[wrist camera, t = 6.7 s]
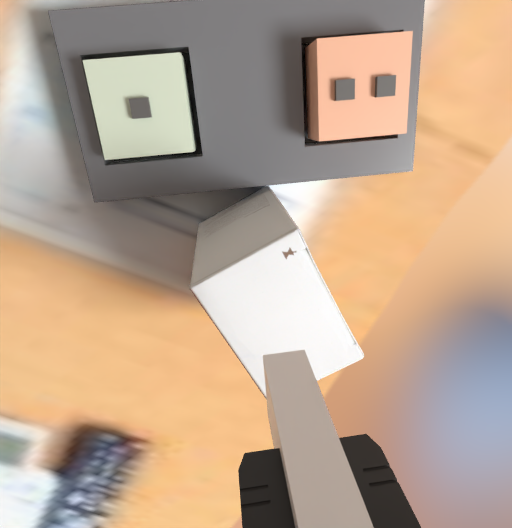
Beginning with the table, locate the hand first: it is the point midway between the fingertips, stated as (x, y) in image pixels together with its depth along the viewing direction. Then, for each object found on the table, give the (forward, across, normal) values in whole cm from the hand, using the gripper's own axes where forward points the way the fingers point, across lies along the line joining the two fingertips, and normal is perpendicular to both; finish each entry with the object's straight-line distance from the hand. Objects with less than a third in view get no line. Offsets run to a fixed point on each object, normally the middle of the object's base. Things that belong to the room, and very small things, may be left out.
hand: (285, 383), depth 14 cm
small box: (+15, +1, 0) cm, 15 cm away
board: (+15, +1, +10) cm, 18 cm away
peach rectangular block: (+15, +7, +10) cm, 19 cm away
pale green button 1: (+16, -5, +10) cm, 19 cm away
